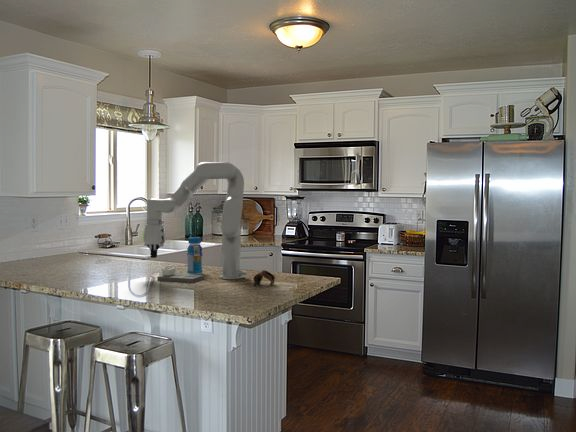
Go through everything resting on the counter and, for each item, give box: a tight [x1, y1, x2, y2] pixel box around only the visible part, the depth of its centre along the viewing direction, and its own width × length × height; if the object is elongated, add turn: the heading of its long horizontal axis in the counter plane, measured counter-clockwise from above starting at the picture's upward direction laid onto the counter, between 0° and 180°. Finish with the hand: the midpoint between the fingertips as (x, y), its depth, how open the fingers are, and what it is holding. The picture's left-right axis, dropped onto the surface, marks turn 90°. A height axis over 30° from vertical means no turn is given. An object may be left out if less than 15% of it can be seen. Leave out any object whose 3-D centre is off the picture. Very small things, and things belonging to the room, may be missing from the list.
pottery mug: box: [253, 269, 276, 287], centre depth 251 cm, size 12×10×8 cm
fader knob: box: [161, 266, 176, 276], centre depth 268 cm, size 4×6×4 cm, turn 162°
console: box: [157, 272, 205, 284], centre depth 266 cm, size 20×12×2 cm, turn 72°
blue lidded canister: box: [186, 236, 204, 275], centre depth 285 cm, size 8×8×20 cm
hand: (153, 257), depth 270 cm, fingers closed
